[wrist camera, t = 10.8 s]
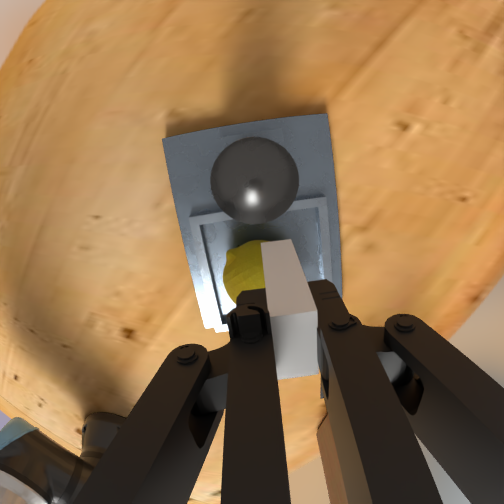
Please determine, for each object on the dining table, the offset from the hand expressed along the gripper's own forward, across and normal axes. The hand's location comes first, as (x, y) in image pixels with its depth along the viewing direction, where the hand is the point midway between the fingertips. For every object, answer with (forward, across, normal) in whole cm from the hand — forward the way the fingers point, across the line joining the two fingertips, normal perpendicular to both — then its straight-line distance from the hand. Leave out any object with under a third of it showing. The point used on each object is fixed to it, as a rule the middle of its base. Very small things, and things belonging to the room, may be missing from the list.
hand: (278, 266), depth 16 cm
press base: (+21, -1, -4) cm, 22 cm away
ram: (+14, -1, +4) cm, 14 cm away
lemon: (+20, -1, -9) cm, 22 cm away
